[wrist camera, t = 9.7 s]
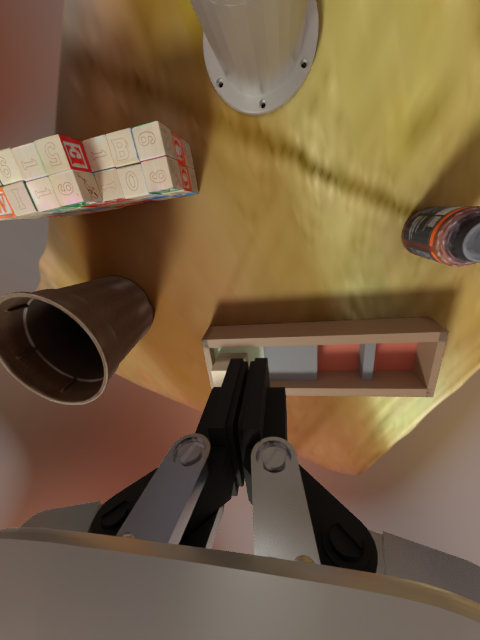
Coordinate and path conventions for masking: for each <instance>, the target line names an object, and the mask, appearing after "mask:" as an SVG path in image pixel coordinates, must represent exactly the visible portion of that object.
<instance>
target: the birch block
mask: <svg viewBox="0 0 480 640" xmlns="http://www.w3.org/2000/svg"><path fill="white" fill-rule="evenodd" d="M231 358H243V360H244V361H248V354H247V353H221V354H218V356H217V358H216V361H215V363H214V365H213V368H212V370H211V373H212V378H213V383H214V387H221V385H222V383H223V380H224V377H225V374H226V371H227V368H228V365H229V362H230V359H231ZM248 366H249V361H248Z"/></svg>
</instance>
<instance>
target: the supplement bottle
mask: <svg viewBox="0 0 480 640" xmlns="http://www.w3.org/2000/svg"><path fill="white" fill-rule="evenodd" d="M402 243H403V245H404V247H405V248H406V249H407V250H408V251H409V252H411V253H413V254H415V255H418V256H421V257H424V258H427V259H430V260H433V261H436V262H439V263H443V264H446V265H449V266H457V267H459V266H468V265H471V264H474V263H477V262H479V263H480V207H479V206H473V207H471V206H469V207H431V208H426V209H423V210H421V211H418V212H417V213H415V214H414V215H413V216H412V217H411V218H409V220H408V221H407V222H406V224H405V226H404V228H403V230H402Z"/></svg>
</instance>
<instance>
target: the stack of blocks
mask: <svg viewBox="0 0 480 640" xmlns="http://www.w3.org/2000/svg"><path fill="white" fill-rule="evenodd" d="M198 193H199V192H198V187H197V181H196V176H195V171H194V165H193V159H192V154H191V150H190V145H189V143H188V142H186V141H185V140H183V139H181V138H180V137H179V136H178V135H176V134H175V133H173V132H172V131H170V129H169V128H168V127H166V126H165V125H163V124H162V123H160V122H159V121H153V122H150V123H146V124H143V125H139V126H136V127H133V128H126V129H122V130H119V131H115V132H112V133H108V134H105V135H100V136H96V137H93V138H90V139H86V140H84V141H83V142H81V141H80V140H77V139H73V138H70V137H67V136H64V135H61V134H56V135H53V136H49V137H46V138H42V139H39V140H36V141H34V142H32V143H28V144H25V145H22V146H18V147H15V148H7V149H3V150H0V220H12V219H31V218H42V217H56V216H60V217H66V216H76V215H82V214H91V213H97V212H102V211H108V210H114V209H120V208H124V207H125V206H131V205H137V204H141V203H145V202H151V201H156V200H157V201H162V200H167V199H173V198H178V197H182V196H187V195H192V194H198Z"/></svg>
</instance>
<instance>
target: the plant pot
mask: <svg viewBox="0 0 480 640" xmlns="http://www.w3.org/2000/svg"><path fill="white" fill-rule="evenodd" d="M152 321H153V309H152V306H151V305H150V303H149V301H148V299H147V295H146V294H145V292H144V291H143V290H142V289H141V288H140V287H139V286H138V285H136V284H135V283H133V282H132V281H130V280H128V279H126V278H123V277H119V276H107V277H103V278H100V279H96V280H92V281H88V282H84V283H80V284H76V285H72V286H68V287H64V288H59V289H45V290H40V291H36V292H32V293H30V292H15V293H10V294H6V295H4V296H2V297H0V361H1V363H2V364H3V366H4V367H5V368H6V369H7V371H8V372H9V373H10V374H12V376H13V377H14V378H15V379H17V380H18V381H19V382H20V383H21V384H23V385H24V386H25V387H26V388H28V389H30V390H31V391H33V392H34V393H36V394H38V395H39V396H41V397H43V398H46V399H48V400H50V401H53V402H57V403H61V404H66V405H80V404H85V403H89V402H91V401H93V400H95V399H96V398H98V397H99V396H100V395H101V394H102V392H103V391H104V390H105V388H106V386H107V383H108V380H109V379H110V378H111V377H112V375H113V374H114V373H115V372H116V370H117V368H118V366H119V364H120V362H121V361H122V360H123V359H124V358H125V356H126V355H127V354H128V353H129V352H130V351H131V349H132V348H133V347H134V346H135V345H136V344H137V343H138V341H139V340H140V339H141V338H142V337H143V336H144V335H145V334H146V333H147V331H148V330H149V328H150V327H151V324H152Z"/></svg>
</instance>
